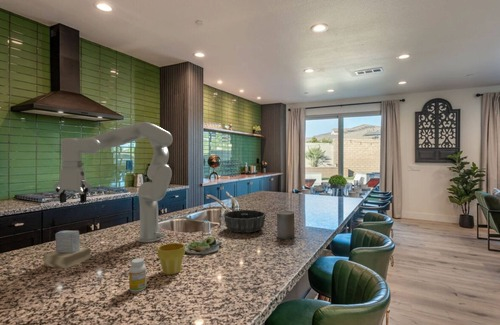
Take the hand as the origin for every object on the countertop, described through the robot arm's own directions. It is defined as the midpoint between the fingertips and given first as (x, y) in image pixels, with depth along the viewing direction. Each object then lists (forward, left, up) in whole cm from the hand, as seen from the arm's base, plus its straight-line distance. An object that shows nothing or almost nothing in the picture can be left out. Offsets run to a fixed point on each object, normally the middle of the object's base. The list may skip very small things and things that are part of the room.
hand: (73, 202), depth 127 cm
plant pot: (-51, +13, -25) cm, 58 cm away
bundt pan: (-72, -53, -25) cm, 93 cm away
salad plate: (-56, -15, -25) cm, 64 cm away
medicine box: (-2, +6, -21) cm, 22 cm away
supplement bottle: (-45, +28, -25) cm, 59 cm away
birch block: (-2, +6, -25) cm, 26 cm away
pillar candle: (-97, -39, -25) cm, 108 cm away
